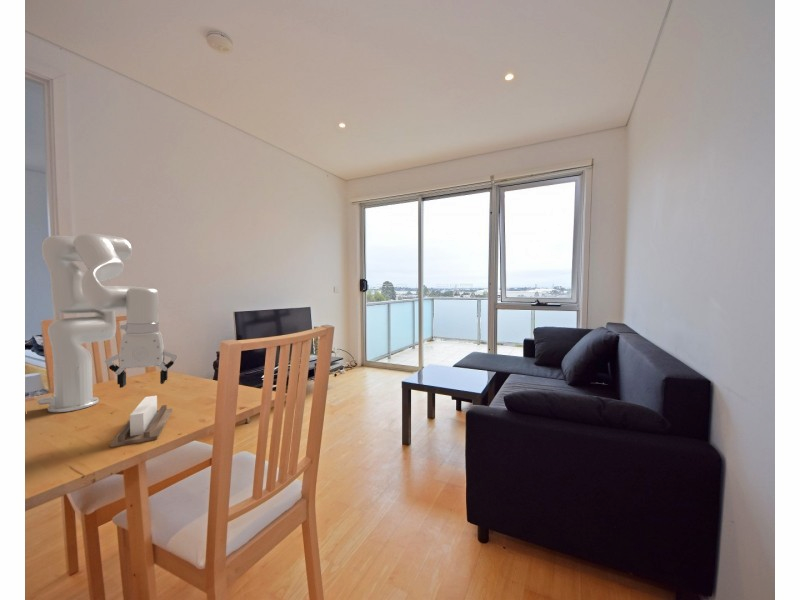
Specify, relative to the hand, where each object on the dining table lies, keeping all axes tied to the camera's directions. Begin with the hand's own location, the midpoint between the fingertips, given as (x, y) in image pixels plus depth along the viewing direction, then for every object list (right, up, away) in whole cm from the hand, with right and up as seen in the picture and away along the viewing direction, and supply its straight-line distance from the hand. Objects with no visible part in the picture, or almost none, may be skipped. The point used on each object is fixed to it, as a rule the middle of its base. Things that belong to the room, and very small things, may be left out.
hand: (143, 384), depth 95 cm
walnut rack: (0, -13, 0) cm, 13 cm away
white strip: (0, -12, 0) cm, 12 cm away
